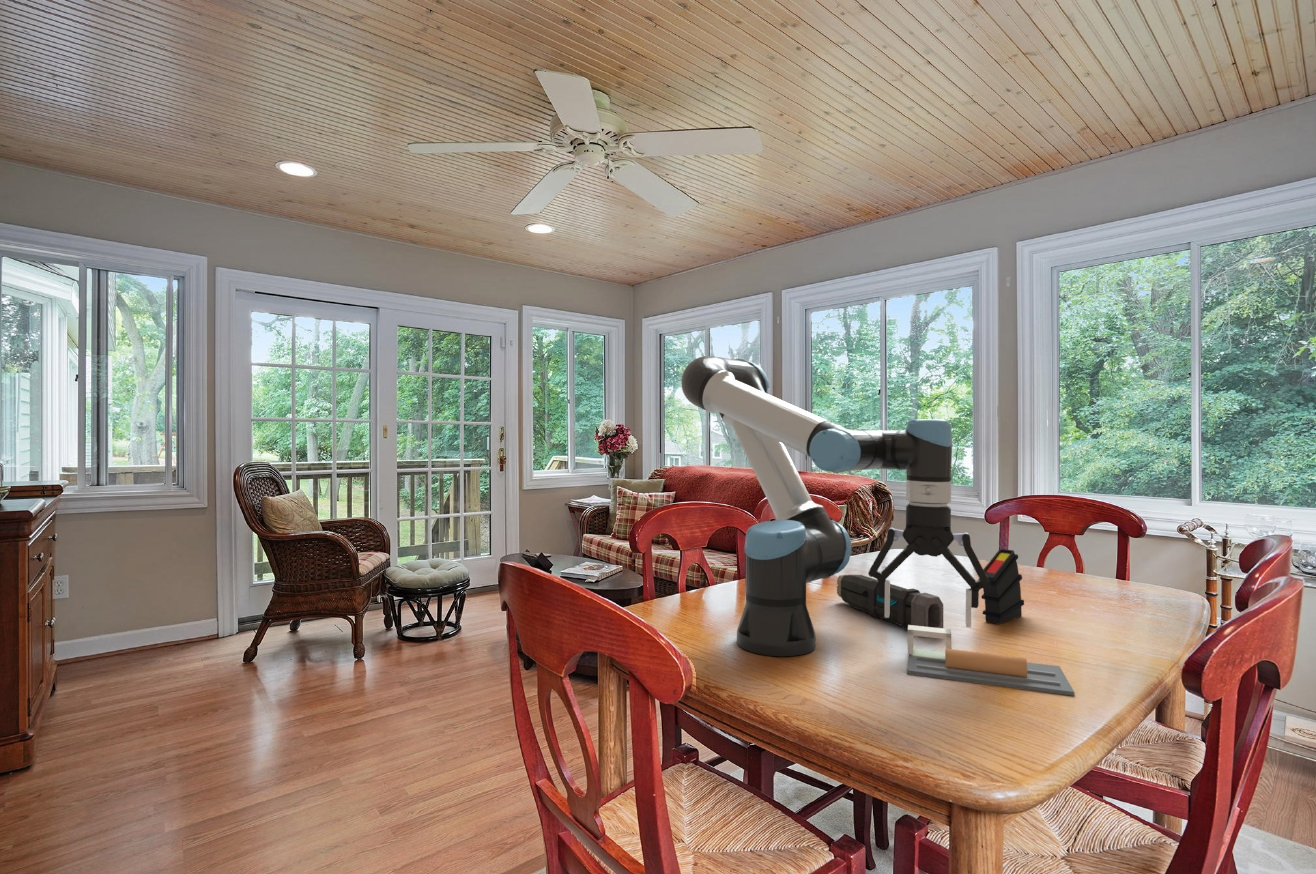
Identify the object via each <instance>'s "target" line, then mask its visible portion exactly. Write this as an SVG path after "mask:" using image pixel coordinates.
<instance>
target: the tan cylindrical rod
mask: <svg viewBox="0 0 1316 874" xmlns="http://www.w3.org/2000/svg"><path fill="white" fill-rule="evenodd" d="M944 651H945V652H944V653H945V666H946V668H953V669H961V670H969V671H976V672H984V673H992V674H1000V675H1008V676H1016V677H1024V678H1027V662H1028V661H1027V658H1026V657H1021V656H1014V655H1006V654H997V653H996V654H995V653H987V652H978V651H969V650H962V649H953V648H952V649H946V648H945V650H944Z"/></svg>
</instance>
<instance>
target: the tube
mask: <svg viewBox="0 0 1316 874" xmlns="http://www.w3.org/2000/svg"><path fill="white" fill-rule="evenodd" d="M837 577H838V578H837V580H836V584H837V586H836V593H837V596H838V597H840V599H841V600H842V601H843V602H844V603H846V604H847V605H849V606H850V607H852V608H855V609H857V610H859V611H862V612H865V613H867V614H870V615H871V617H873V618H876V619H884V620H886V621H889V622H890V623H894V624H896V625H899V626H901V628H903V629H905V630H907V631H908V625H914V626H924V627H934V628H943V629H944V603H943V601H942V600H941V598H940V597H939V596H937V595H934V594H930V593H928V592H921V591H920V590H919V589H916V588H906V587H902V586H900V585H899V586H898V585H895V584H892V583H890V615H889V618H885V617H884V615H885V598H879V595H878V585H879V582H878V580H877V579H876V578H874V577H870V576H865V575H863V574H840V575H839V576H837Z"/></svg>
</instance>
